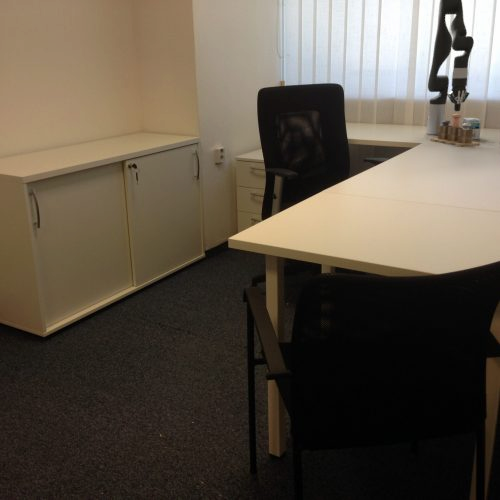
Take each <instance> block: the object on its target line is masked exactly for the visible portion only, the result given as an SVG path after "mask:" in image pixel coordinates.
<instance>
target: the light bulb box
mask: <svg viewBox="0 0 500 500" xmlns="http://www.w3.org/2000/svg"><path fill="white" fill-rule="evenodd" d="M464 123H468V124H471V126H470V127H469V129H473V137H472V141H473V140H480V137H481V129H482V127H481V126H482V119H480V118H476V117H463V120H462V124H464Z"/></svg>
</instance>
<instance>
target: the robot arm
mask: <svg viewBox="0 0 500 500" xmlns="http://www.w3.org/2000/svg"><path fill="white" fill-rule="evenodd" d="M446 15H455V16H454V18H453V19H452V22H451V24H450V30H449V28H448V25H447V23H446ZM436 25H437V26H436V28H437V29H436V34H435V38H434V39H435V40H434V45H433V55H432V60H431V61H432V63H431V65H430V66H431V67H430V72H429V75H428V82H427V90H428V91H429V92H430V93H438V94H437V95H436V96H433V97H431V98H430V99H429V108H428V117H427V121H426V122H427V123H426V134H427V135H437V136H438V130H439V126H441V125H443V123H442V121H443V120H446V109H447V108H446V107H447V100H448V99H449V101H450V103H452V104H454V107H453V110H454V112H460V111H461V108H462V106H461V105H462V103H465V101H466V100H467V99H468V97H469V96H470V92H468V91H467V86H468V76H469V70H468V69H469V59H470V55H471V53H472V50H473V47H474V44H475V41H474V38H473V37H472V36H469V35H467V34H468V32H467V28H466V25H465V21H464V10H463V1H462V0H439V5H438V16H437V24H436ZM450 31H451V32H450ZM452 50H453V51H456V52H463V53H462V54H461V55H457V56H455V57H454V60H453V69H452V75H451V76H452V77H451V87H452V88H451V91H450V92H449V84H450V79H449V76H448V75H447V74H442V75H440V74H439V75H438V73H439V70H440V69H441V67H442V65H443V64H444V62H445V61H446V60H447V58H448V57H449V56H450V54H451V52H452ZM448 92H449V93H448Z"/></svg>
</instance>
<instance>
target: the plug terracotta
mask: <svg viewBox="0 0 500 500" xmlns="http://www.w3.org/2000/svg"><path fill="white" fill-rule="evenodd" d="M451 117H452V120H453V121H452V126H453V128H459V127H460V118H461V117H462V114H459V113H454V114H453V113H452V116H451Z"/></svg>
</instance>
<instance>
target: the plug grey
mask: <svg viewBox="0 0 500 500" xmlns="http://www.w3.org/2000/svg"><path fill="white" fill-rule="evenodd" d="M470 126H471V124H468V123H464V124H463V123H461V127H462V128H463V130H469V127H470Z"/></svg>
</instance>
